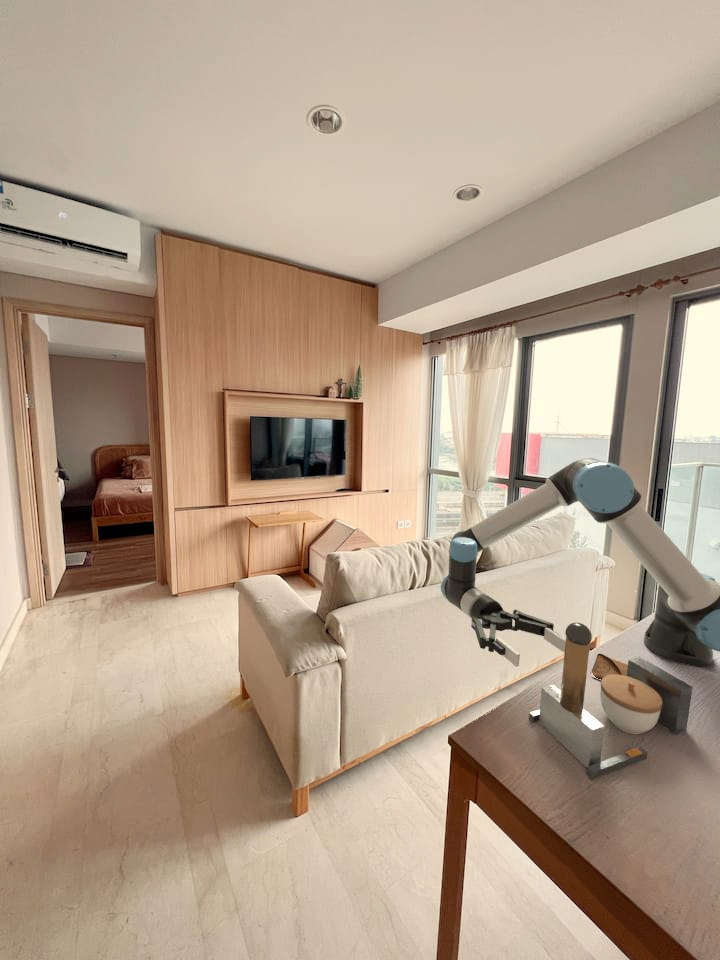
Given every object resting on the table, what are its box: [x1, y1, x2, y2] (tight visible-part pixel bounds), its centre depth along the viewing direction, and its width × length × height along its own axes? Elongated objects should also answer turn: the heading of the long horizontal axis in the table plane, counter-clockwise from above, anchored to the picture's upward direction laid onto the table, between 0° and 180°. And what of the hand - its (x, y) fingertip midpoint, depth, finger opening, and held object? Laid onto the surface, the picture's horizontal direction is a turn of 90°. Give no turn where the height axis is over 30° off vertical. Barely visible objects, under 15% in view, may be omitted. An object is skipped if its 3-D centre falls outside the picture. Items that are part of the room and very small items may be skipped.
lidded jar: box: [599, 675, 663, 735], centre depth 83 cm, size 11×11×9 cm
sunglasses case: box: [591, 653, 628, 680], centre depth 96 cm, size 18×7×7 cm, turn 44°
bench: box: [528, 656, 694, 781], centre depth 81 cm, size 29×15×10 cm, turn 109°
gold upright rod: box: [538, 621, 605, 768], centre depth 76 cm, size 4×12×25 cm, turn 19°
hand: (544, 654), depth 82 cm, fingers open, 13 cm apart
